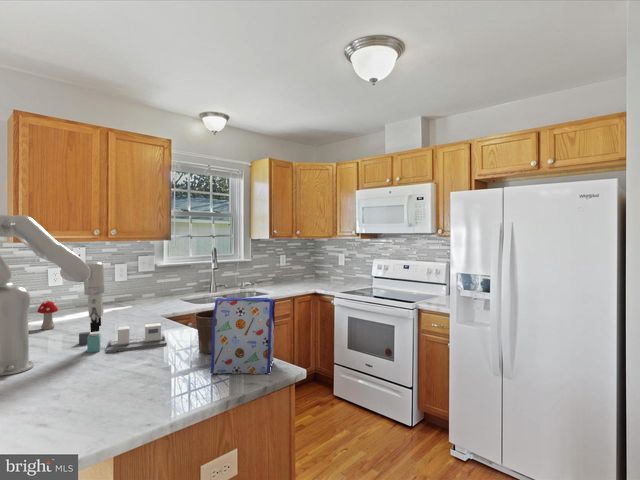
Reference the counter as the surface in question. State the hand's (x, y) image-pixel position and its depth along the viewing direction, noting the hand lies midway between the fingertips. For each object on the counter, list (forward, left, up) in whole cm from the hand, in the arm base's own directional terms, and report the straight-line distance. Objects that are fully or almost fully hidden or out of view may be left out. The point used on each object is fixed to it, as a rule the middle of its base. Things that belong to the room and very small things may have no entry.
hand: (96, 328), depth 162 cm
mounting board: (0, -16, -9) cm, 19 cm away
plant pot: (-24, -46, -9) cm, 53 cm away
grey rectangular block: (+14, +6, -9) cm, 17 cm away
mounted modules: (-1, -17, -7) cm, 19 cm away
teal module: (0, +1, -9) cm, 9 cm away
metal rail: (0, -16, -8) cm, 18 cm away
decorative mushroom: (+56, +27, -9) cm, 62 cm away
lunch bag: (-52, -52, -10) cm, 75 cm away
